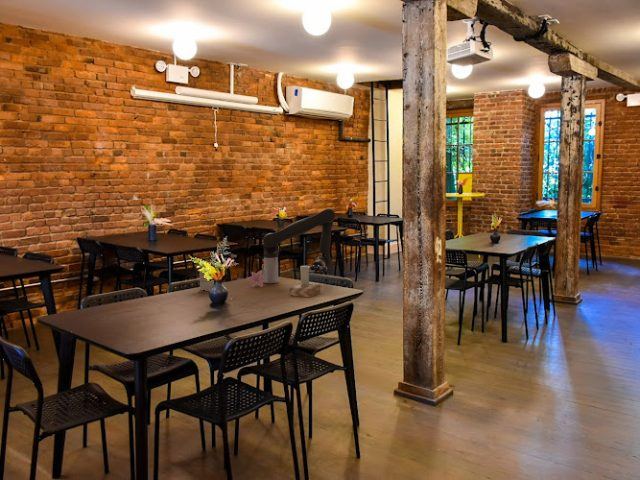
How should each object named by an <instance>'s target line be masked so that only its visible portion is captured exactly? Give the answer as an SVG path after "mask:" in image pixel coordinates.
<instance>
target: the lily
mask: <svg viewBox="0 0 640 480" xmlns="http://www.w3.org/2000/svg"><path fill="white" fill-rule="evenodd" d="M265 279H266V278H265V277H263V269H260V270H259V271H258V272H254V271H251V276H249V277H246V278H245V280H246V281H249V282H252V283H251V287H252V288H254V287H255V286H259V287H260V288H263V286H264V282H263V280H265Z"/></svg>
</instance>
